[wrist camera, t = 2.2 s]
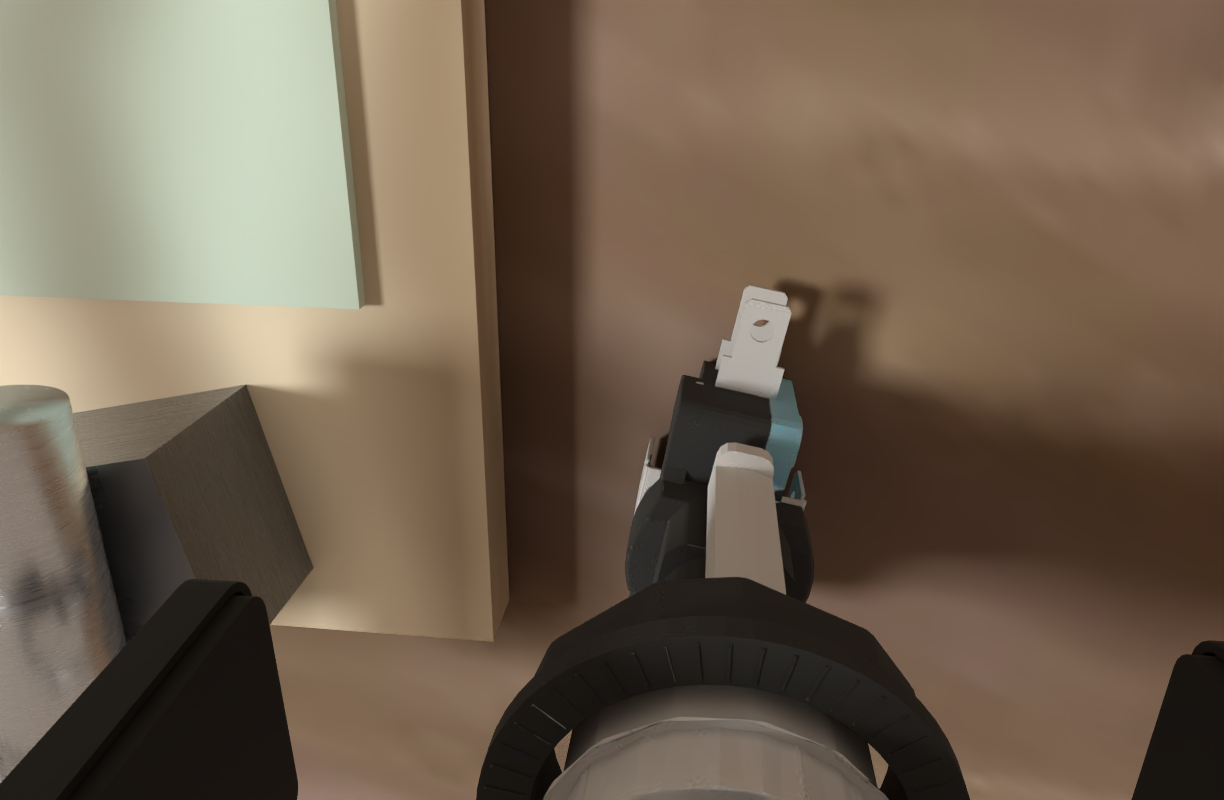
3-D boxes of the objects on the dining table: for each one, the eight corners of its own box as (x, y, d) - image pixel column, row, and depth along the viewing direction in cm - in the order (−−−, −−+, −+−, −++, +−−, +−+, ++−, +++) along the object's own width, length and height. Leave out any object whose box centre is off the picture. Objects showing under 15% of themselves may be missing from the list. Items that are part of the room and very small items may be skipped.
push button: (628, 250, 17) (512, 516, 7) (913, 313, 16) (1161, 665, 7) (566, 554, 19) (423, 1032, 10) (812, 610, 19) (899, 1151, 10)
